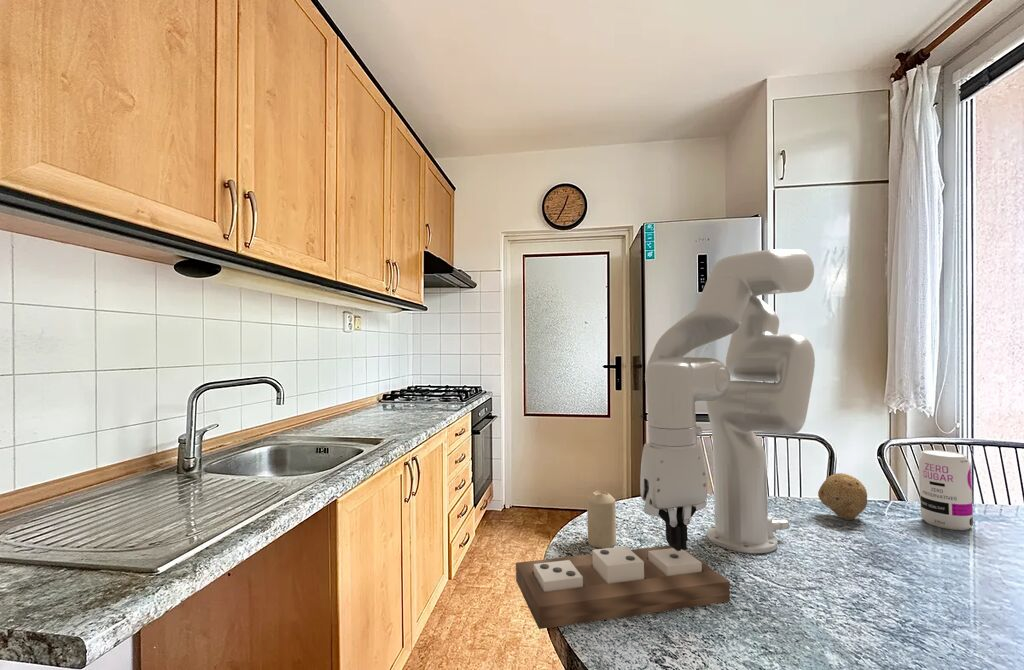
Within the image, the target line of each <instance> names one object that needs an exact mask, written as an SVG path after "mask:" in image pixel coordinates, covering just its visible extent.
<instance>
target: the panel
mask: <svg viewBox="0 0 1024 670" xmlns="http://www.w3.org/2000/svg"><path fill="white" fill-rule="evenodd" d="M670 548H672V547H671V546H670V545H669V544H668V545H662V546H661V545H660V546H653V547H645V548H635V549H630V550H631V551H632V552H633V553H635V554H636V555H637V556H638V557H639V558H640V559H641V560H642V561H644V579H642V580H634V581H626V582H618V583H610V584H606V582H605V581H604V580H603V579H602V578H601V577H600V575H599V574H598V573H597V572H596V571H595V570H594V568H593V554H592V553H590V554H589V553H588V554H583V555H572V556H564V557H555V558H546V559H545V558H544V559H537V560H529V561H520V562H519V561H518V562H515V582H516V584H517V587H518V588H519V590H520V592H521V594H522V597H523V599H524V601H525V603H526V605H527V606H528V609H529V611H530V613H531V617H533V620H534V621H535V624H536V626H537V628H538V630H542V629H543V630H544V629H550V628H551V629H552V628H556V627H563V626H569V625H578V624H582V623H583V624H584V623H585V624H586V623H593V622H598V621H604V620H610V619H618V618H624V617H630V616H638V615H646V614H652V613H659V612H665V611H673V610H678V609H679V610H680V609H688V608H694V607H700V606H706V605H708V606H709V605H714V604H720V603H721V604H722V603H728V602H731V590H730V589H731V587H730V586H731V583H730V580H729V579H727V578H726V577H725V576H723V575H722V574H720V573H719V572H717V571H716V570H715V569H713V568H712V567H711V566H709V565H707V564H706V563H704V562H703V561H702V560H701V559H699V558H698V557H696V556H695V555H694V554H692V553H691V552H689V551H688V550H685V551H686V552H688V553H689V554H690V555H692V556H693V557H695V558H696V559H697V560H699V561H700V562H702V572H696V573H688V574H680V575H673V576H666V575H665V574H664V573H663V572H661V571H660V570H659V569H658V568H657V567H656V566H654V565H653V564H652V563H651V562H650V561H649V560H648V551H652V550H661V549H670ZM565 560H570V561H571V563H572V564H573V565H574V567H575V568H576V569H577V570H578V572H579V573H580V574H581V576H582V577H583V587H579V588H571V589H564V590H556V591H548V592H543V591H542V590H541V588H540V586H539V584H538V582H537V581H536V579H535V577H534V564H538V563H547V562H556V561H565Z"/></svg>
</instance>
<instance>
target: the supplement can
mask: <svg viewBox="0 0 1024 670" xmlns="http://www.w3.org/2000/svg"><path fill="white" fill-rule="evenodd" d="M971 465H972V464H971V462H970V461H969V459H968V458H967V455H966V454H964V453H961V452H954V451H947V450H940V449H939V450H938V449H937V450H935V449H926V450H922V451H921V454H920V456H919V457H918V473H919V474H918V476H919V477H918V478H919V497H920V498H919V502H920V517H921V518H922V520H924V522H925V523H927V524H929V525H931V526H933V527H934V526H935V527H937V528H942V529H947V530H954V531H967V530H969V529H971V528H973V527H974V512H973V511H974V510H973V489H972V488H973V487H972V466H971Z"/></svg>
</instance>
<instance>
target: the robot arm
mask: <svg viewBox="0 0 1024 670" xmlns="http://www.w3.org/2000/svg"><path fill="white" fill-rule="evenodd" d="M814 275H815V266H814V262H813V261H812V258H811V256H810V255H809V254H808V253H807V252H806V251H804V250H802V249H786V248H784V249H783V248H775V249H774V248H773V249H764V250H758V251H757V250H756V251H753V252H745V253H739V254H732V255H727V256H725V257H722V258H720V259H719V260H717V262H715V264H714V265H713V266H712V268H711V271H710V272H709V276H708V278H707V280H706V282H705V285H704V287H703V290H702V292H701V294H700V296H699V299H698V300H697V303H696V306H695V308H694V309H693V310H692V311H691V312H689V313H688V314H686V315H685V316H684V317H682V318H681V319H680V320H678V321H677V322H676V323H675V324H673V325H671V327H669V328H668V329H667V330H666V331H665V332H664V333H663V334H662V335H661V336H660V338H659V339H658V340H657V342H656V344H655V346H654V348H653V349H652V352H651V354H650V357H649V358H648V361H647V365H646V368H645V373H644V376H645V377H644V381H645V386H646V404H647V405H646V406H647V426H648V427H647V428H648V442H647V443H644V444H643V448H642V453H641V455H642V456H641V463H640V477H639V479H640V481H639V483H640V485H639V487H640V489H639V491H640V492H639V493H640V498H641V500H642V501H644V502H645V503H644V507H643V508H644V509H643V512H644V513H645V514H647V515H648V516H651V517H659V518H660V519H662V521H663V522H664V523H665V524H664V525H665V540H666V543H667V544H668V545H670V546H671V547H672V548H674V549H675V550H676V551H681V549H682V550H686V551H688V549H687V548H688V545H687V544H688V543H687V542H688V540H689V539H688V537H689V536H688V526H689V525H690V523H691V518H692V517H693V516H694V514H695V513H696V512H698V511H701V510H703V509H705V508H707V502H706V501H707V499H708V481H707V472H706V471H707V470H706V466H705V459H704V455H703V451H702V448H701V444H700V443H699V442H698V441H697V440H698V436H699V435H702V433H703V428H702V427H701V426H697V420H696V418H697V417H696V415H697V414H696V402H706V411H707V415H708V419H709V424H710V429H711V438H712V457H713V461H712V462H713V463H712V464H713V494H714V497H713V498H714V500H713V501H714V524H713V525H711V526H709V527H708V528H707V529H706V536H707V539H708V540H709V541H710V542H711V543H713V544H715V545H716V546H719V547H720V548H723V549H727V550H730V551H733V552H738V553H745V554H746V553H747V554H766V553H771V552H774V551H775V550H777V549H778V547H779V545H778V544H779V542H778V538H777V537H776V536H775V535H774V533H775V532H776V531H784V530H785V531H786V530H789V528H790V523H789V521H788V520H787V519H785V518H781V519H775V520H774V519H773V517H772V516H769V514H768V513H769V511H768V509H769V508H768V507H769V506H768V483H767V482H768V479H767V478H768V477H767V476H768V475H767V473H768V472H767V455H766V451H765V448H764V446H763V444H762V441H760V439H759V438H758V436H757V435H756V433H755V432H762V433H770V434H771V433H772V434H778V435H779V434H780V435H793V434H797V433H798V432H800V431H801V430H802V429H803V427H804V425H805V423H806V419H807V414H808V409H809V403H810V397H811V392H812V391H811V390H812V386H813V380H814V373H815V363H816V362H815V361H816V360H815V359H816V358H815V352H814V349H813V345H812V343H811V342H810V341H809V339H807V337H804V336H802V335H799V334H792V333H790V334H789V333H788V334H787V333H785V334H778V333H779V328H780V318H779V316H778V314H777V313H776V312H775V310H774V309H773V308H772V307H771V306H770V305H769V304H768V303H766V301H764V300H763V299H762V298H761V296H764V295H766V296H767V295H768V296H769V295H776V294H791V293H799V292H803V291H806V289H808V288H809V287H810V285H811V284H812V282H813V281H814ZM729 335H730V336H731V337H730V339H729V345H728V349H727V352H726V357H725V363H723V362H722V361H720V360H719V359H716V358H713V357H691V356H689V357H688V356H687V357H686V355H687V354H688V353H690V352H692V351H693V350H695V349H697V348H700V347H702V346H704V345H707V344H710V343H713V342H715V341H719V340H721V339H723V338H726V337H727V336H729ZM731 378H734V379H736V380H731Z"/></svg>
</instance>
